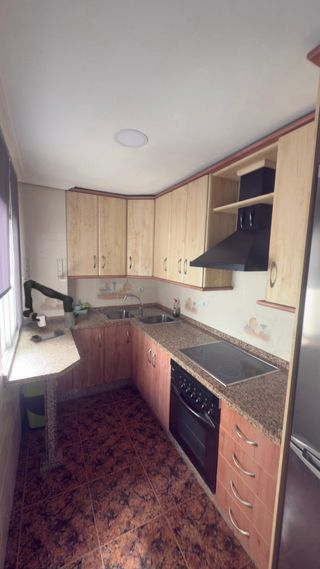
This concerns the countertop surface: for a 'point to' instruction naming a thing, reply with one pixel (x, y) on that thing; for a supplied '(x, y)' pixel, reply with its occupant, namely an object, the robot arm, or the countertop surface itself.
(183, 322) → the countertop surface
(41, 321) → the grey module
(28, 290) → the robot arm
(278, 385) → the countertop surface
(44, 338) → the mounting plate
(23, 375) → the countertop surface
